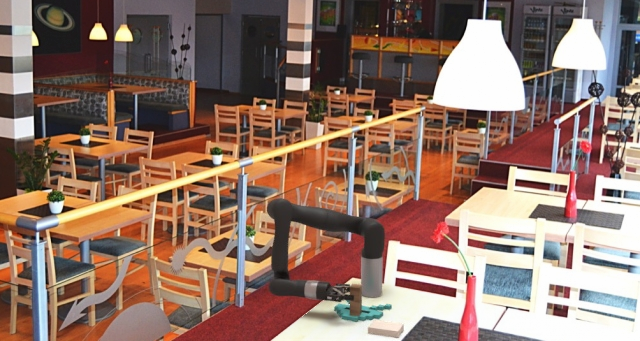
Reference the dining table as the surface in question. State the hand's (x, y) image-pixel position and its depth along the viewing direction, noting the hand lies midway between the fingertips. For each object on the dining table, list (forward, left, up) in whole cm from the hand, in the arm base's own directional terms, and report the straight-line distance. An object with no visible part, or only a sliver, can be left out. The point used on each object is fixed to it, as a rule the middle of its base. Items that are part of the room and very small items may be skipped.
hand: (356, 294), depth 328 cm
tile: (+9, +8, -9) cm, 15 cm away
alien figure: (-7, 0, -11) cm, 13 cm away
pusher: (-1, 0, -9) cm, 9 cm away
